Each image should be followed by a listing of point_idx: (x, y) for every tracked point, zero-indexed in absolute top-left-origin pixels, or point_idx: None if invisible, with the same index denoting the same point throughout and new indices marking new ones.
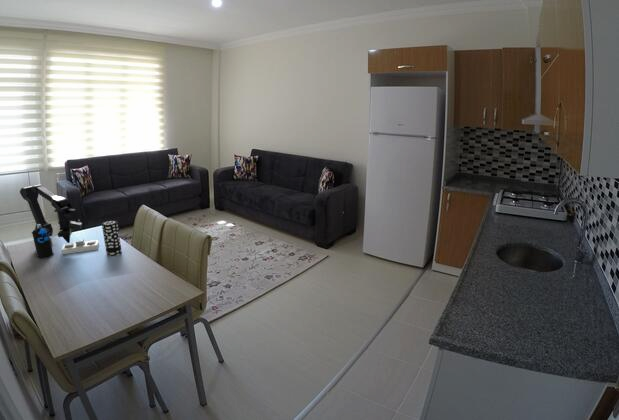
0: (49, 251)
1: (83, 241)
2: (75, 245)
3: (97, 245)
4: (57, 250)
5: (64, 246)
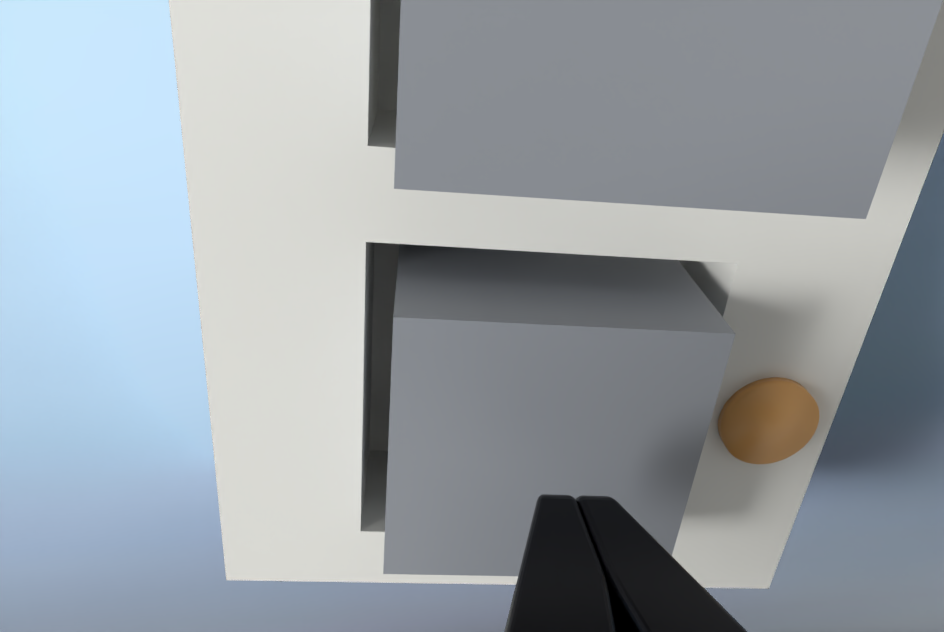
0: None
1: None
2: None
3: None
4: (316, 589)
5: None
